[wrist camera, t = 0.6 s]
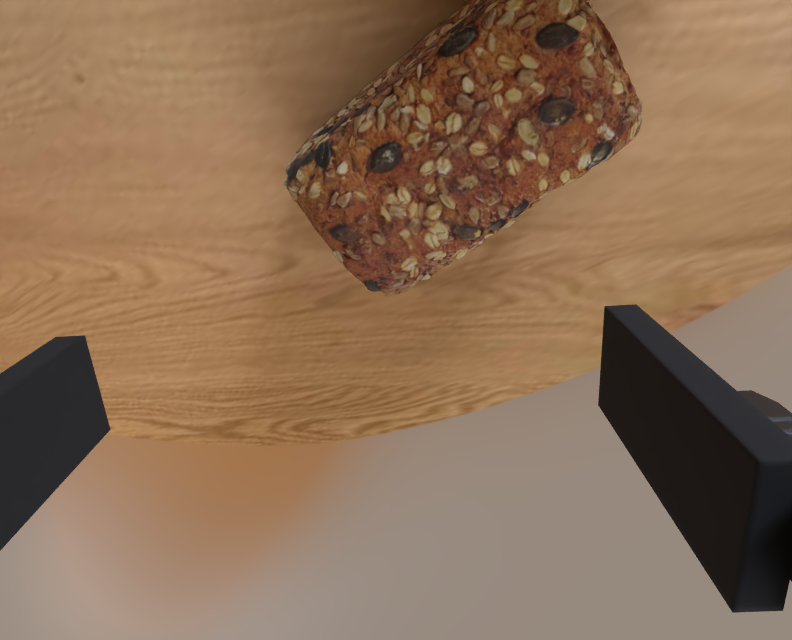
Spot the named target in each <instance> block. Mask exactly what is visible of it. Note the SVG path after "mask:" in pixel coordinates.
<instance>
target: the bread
mask: <svg viewBox="0 0 792 640" xmlns="http://www.w3.org/2000/svg"><path fill="white" fill-rule="evenodd" d="M641 111H642V102H641V101H640V99H639V98H638V97H637V95H636V91H635V89H634V87H633V85H632V83H631V81H630V78H629V76H628V74H627V73H626V71H625V69H624V67H623V62H622V60H621V58H620V55H619V52H618V50H617V47H616V45H615V43H614V41H613V39H612V37H611V35H610V33H609V31H608V30H607V28H606V27H605V25H604V24H603V22H602V21H601V20H600V19H599V17H598V16H597V15H596V14H595V12H594V11H593V9H592V8H591V6H590V5H589V2H588V0H469V1H468V2H467V3H466V4H465V5H464V6H463V7H462V8H461V9H459V10H458V11H456V12H455V13H453V14H452V15H451V16H450V17H449V18H448V19H447V20H445V21H444V22H442V23H440V24H439V25H438V26H437V27H436V28H435V29H434V30H433V31H432V32H430V33H429V34H428V35H426V36H425V37H424V38H423V39H422V40H421V41H420V42H419V43H417V44H416V45H415V46H414V47H413V48H411V49H410V50H409V51H408V52H407V53H406V54H405V55H404V56H402V57H401V58H400V59H399V60H398V61H397V62H395V63H394V64H393V65H392V66H391V67H389V68H388V69H387V70H385V71H384V72H383V73H381V74H380V75H379V76H378V77H377V78H376V80H374V81H373V82H372V83H371V84H369V85H368V86H366V87H365V88H364V89H363V90H362V91H361V92H360V93H359V94H358V95H357V96H356V97H354V98H353V99H352V100H351V101H350V102H348V103H347V104H346V105H345V106H344V107H343V108H341V109H340V110H339V111H338V112H336V113H335V114H334V115H333V116H332V117H331V118H330V119H329V120H328V122H327V123H326V124H325V125H323V126H322V127H320V128H319V129H318V130H316V131H315V132H314V133H313V134H312V136H311V138H309V139H308V140H307V141H306V142H305V143H304V144H303V145H302V147H301V148H300V149H299V150H298V151H297V152H296V153H297V154H296V155H295V156H294V157H293V158H292V159H291V160H290V161H289V162H288V163H289V165H288V166H287V168H286V172H287V175H288V178H287V181H286V182H284V183H283V184H284V185H285V186H287V189H288V191H289V192H290V194H291V196H292V198H293V200H294V201H296V202H297V203H298V205H299V206H300V208H301V209H302V211H303V212H304V213H305V214H306V216H307V217H308V219H309V220H310V222H311V223H312V225H313V226H314V228H315V229H316V230H317V232H318V233H319V234H320V235H321V237H322V238H323V239H324V240H325V242H326V243H327V244H328V245H329V247H330V248H331V249H332V251H333V253H334V255H335V257H336V258H337V259H338V260H339V261H340V262H343V264H344V266H345V268H347V269H348V270H349V271H350V272H351V273H352V274H353V275H354V276H355V277H356V278H358V279H359V280H360V281H362V282H363V283H364V284H365V286H366V287H367V289H368V290H370V291H380V290H381V291H382V292H384V293H385V294H386V296H389V295H395V294H399V293H402V292H405V291H407V290H408V289H410V288H411V287H413V286H414V285H415V284H416V283H417V282H418V281H421V280H427V279H429V278H430V277H431V276H432V275H433V274H434V273H435V272H437V271H438V270H439V269H441V268H442V267H443V266H446V265H449V264H450V263H451V262H454V261H456V260H458V259H460V258H461V257H463V256H464V255H465V254H466V252H467V251H468V252H471V251H472V250H474V249H475V248H476V247H477V246H479V245H480V244H482V243H483V241H484V239H485V238H487V237H489V236H491V235H494V234H496V233H497V232H498V230H499V229H503V228H507V227H509V226H510V225H512V224H513V223H514V222H515V221H516V220H517V218H518V217H519V216H520V215H522V214H524V213H525V212H526V211H527V210H528V209H530V208H531V207H532V205H533V204H534V203H536V202H537V201H539V200H540V199H542V198H543V197H544V196H545V195H547V194H548V193H549V192H550V191H552V190H553V189H556V188H558V187H561V186H566V185H568V184H570V183H572V182H573V181H575V180H577V179H578V178H580V177H581V176H582V175H584V174H585V173H587V172H588V171H589V170H590V168H591V167H593V166H595V165H597V164H599V163H600V162H603V161H606V160H609V159H610V158H611V157H612V156H613V155H614V154H616V153H617V152H618V151H619V150H620V149H622V148H623V147H624V146H625V145H627V144H628V143H629V142H630V141H631V140H633V138H634V137H635V136H636V135H637V133H638V132H639V130H640V126H641V123H642V117H641Z"/></svg>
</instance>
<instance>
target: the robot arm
mask: <svg viewBox="0 0 792 640" xmlns="http://www.w3.org/2000/svg"><path fill="white" fill-rule="evenodd" d="M599 388H600V389H599V403H598V405H599V407H600V408H601V410H602V411H603V413H604V415H605V416H606V418H607V419H608V421H609V422H610V424H611V425H612V427H613V428H614V430H615V432H616V433H617V435H618V436H619V438H620V439H621V441H622V442H623V444H624V445H625V447H626V448H627V450H628V452H629V453H630V455H631V456H632V458H633V459H634V461H635V462H636V464H637V466H638V467H639V469H640V470H641V472H642V473H643V475H644V476H645V478H646V479H647V481H648V482H649V484H650V486H651V487H652V489H653V490H654V492H655V493H656V495H657V496H658V498H659V499H660V501H661V503H662V504H663V506H664V507H665V509H666V510H667V512H668V513H669V515H670V516H671V518H672V520H673V521H674V523H675V524H676V526H677V527H678V529H679V530H680V532H681V533H682V535H683V536H684V538H685V540H686V541H687V543H688V544H689V546H690V547H691V549H692V550H693V552H694V553H695V555H696V557H697V558H698V560H699V561H700V563H701V564H702V566H703V567H704V569H705V571H706V572H707V574H708V575H709V577H710V578H711V580H712V581H713V583H714V584H715V586H716V587H717V589H718V591H719V592H720V593H721V595H722V597H723V598H724V600H725V601H726V603H727V604H728V606H729V608H730V609H731V610H732V612H758V611H782V610H783V608H784V604H785V598H786V594H787V590H788V585H789V581H790V580H791V581H792V413H791V412H789V411H788V410H787V409H785V408H784V407H783V406H782V405H781V404H779V403H778V402H776V401H773V400H771V399H769V398H767V397H765V396H762V395H760V394H758V393H756V392H754V391H736V390H735V389H734V388H732V386H730V385H729V384H728V383H727V382H726V381H725V380H723V379H722V378H721V377H720V376H719V375H717V374H716V373H715V372H714V371H713V370H712V369H711V368H709V367H708V366H707V365H706V364H705V363H703V362H702V361H701V360H700V359H699V358H698V357H696V356H695V355H694V354H693V353H692V352H691V351H690V350H688V349H687V348H686V347H685V346H684V345H683V344H681V343H680V342H679V341H678V340H677V339H676V338H674V337H673V336H672V335H671V334H670V333H669V332H667V331H666V330H665V329H664V328H663V327H662V326H660V325H659V324H658V323H657V322H656V321H655V320H654V319H652V318H651V317H650V316H649V315H648V314H647V313H645V312H644V311H643V310H642V309H641V308H640V307H638V306H637V305H619V306H605V309H604V325H603V340H602V356H601V372H600V387H599ZM109 430H110V426H109V423H108V419H107V415H106V412H105V408H104V404H103V401H102V397H101V393H100V390H99V386H98V382H97V379H96V375H95V371H94V368H93V364H92V360H91V357H90V353H89V349H88V346H87V342H86V338H85V336H68V337H55V338H54V339H52V340H50V341H49V342H47V343H46V344H44V345H43V346H41V347H40V348H38V349H37V350H35V351H34V352H32V353H31V354H29V355H28V356H26V357H25V358H23V359H22V360H20V361H19V362H17V363H16V364H14V365H13V366H11V367H10V368H8V369H7V370H5V371H4V372H2V373H1V374H0V550H1V549H2V548H3V547H4V546H5V545H6V544H7V543H8V542H9V540H10V539H11V538H12V537H13V536H14V535H15V534H16V533H17V532H18V530H19V529H20V528H21V527H22V526H23V525H24V524H25V523H26V522H27V521H28V520H29V518H30V517H31V516H32V515H33V514H34V513H35V512H36V511H37V510H38V509H39V507H40V506H41V505H42V504H43V503H44V502H45V501H46V500H47V499H48V498H49V496H50V495H51V494H52V493H53V492H54V491H55V490H56V489H57V488H58V487H59V485H60V484H61V483H62V482H63V481H64V480H65V479H66V478H67V477H68V476H69V474H70V473H71V472H72V471H73V470H74V469H75V468H76V467H77V466H78V465H79V463H80V462H81V461H82V460H83V459H84V458H85V457H86V456H87V454H89V452H90V451H91V450H92V449H93V448H94V447H95V446H96V445H97V444H98V443H99V441H100V440H101V439H102V438H103V437H104V436H105V435H106V434H107V433H108V432H109Z"/></svg>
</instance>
